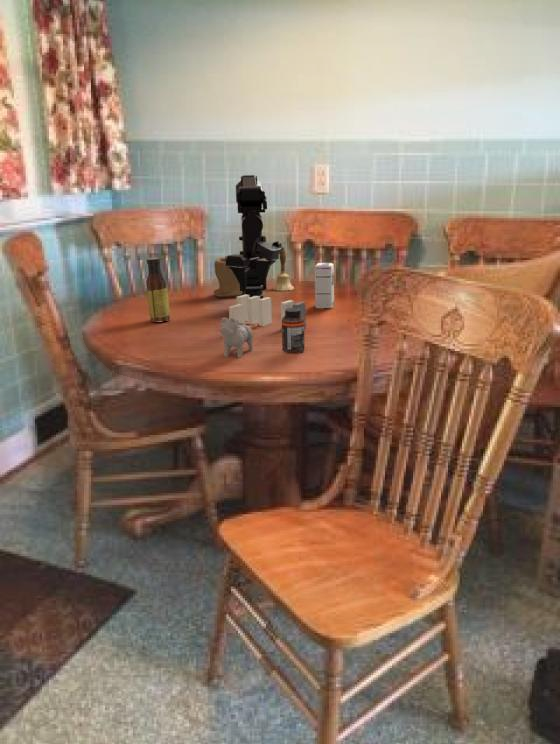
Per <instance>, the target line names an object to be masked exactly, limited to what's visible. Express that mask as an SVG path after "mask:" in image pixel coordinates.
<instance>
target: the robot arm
mask: <svg viewBox="0 0 560 744" xmlns="http://www.w3.org/2000/svg"><path fill="white" fill-rule="evenodd" d="M265 193H266V192H265V191H264V190H263V184H262V183H261V182H259V181H258V176H257V175H254V174H246V175H242V176H240V181H239V182H238V183H237V184H236V185H235V199H236V201H235V202H236V203H237V214H241V219H240V220H241V236H239V237H238V241H241V243H242V250H240V251H239V253H238V254H228V255H229V256H228V255H226V256H227V257H226V259H225V264H226V266H228V267H229V268H231V270H232V271H233V273H234V275H235V276H236V278H237V280H238V282H239V284H240V291H242V295H245V294H246V295H249V296H250V297H254V296H260V299H263V298H264V294H263V291H267V279H268V278H267V277H268V274H269V271H270V269H271V266H273V264H274V263H276V262H277V260H280V254H281V253H282V247H283V245H282V242H281V241H278V240H277V241H276V240H275V241H274V242H267V237H266V235H263V228H264V224H263V220H262V214H263V213H266V210H268V200H267V194H265ZM261 213H262V214H261Z"/></svg>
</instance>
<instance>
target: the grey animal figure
mask: <svg viewBox="0 0 560 744" xmlns="http://www.w3.org/2000/svg"><path fill="white" fill-rule="evenodd" d="M219 334H220V335H222V342H223V344H224V354H223V356H224V357H229V356H230V352H231V348H232V347H233V348H235V350H236V349H237V350H236V351H237V355H236V357H237V358H239V357H240V358H242V357H243V348H244V347H243V345H245V343H247V344H248V351H249V350H250V352H252V351H253V330H252V328H251V327H250V326H249V325H246V323H245V322H241V323H239V322H238V319H234V318H230V319H229V318H226V317H222V318H221V324H220V330H219ZM251 350H252V351H251Z"/></svg>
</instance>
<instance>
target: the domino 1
mask: <svg viewBox="0 0 560 744" xmlns="http://www.w3.org/2000/svg"><path fill="white" fill-rule="evenodd" d="M228 313H229V315H228V316H229V318H228V319H230V318H234V319H238V322H239V323H241V322H243V305H242V304H237V303H236V304H234V305H231V306H229V307H228Z"/></svg>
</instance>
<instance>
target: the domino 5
mask: <svg viewBox="0 0 560 744" xmlns="http://www.w3.org/2000/svg"><path fill="white" fill-rule="evenodd" d="M292 304H295V303H294V300H292V299H289V300H286V301H282V302H280V325H281V326H280V329H281V330H282V318H283V317H284V316H285V309H287V308H293V305H292Z"/></svg>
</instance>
